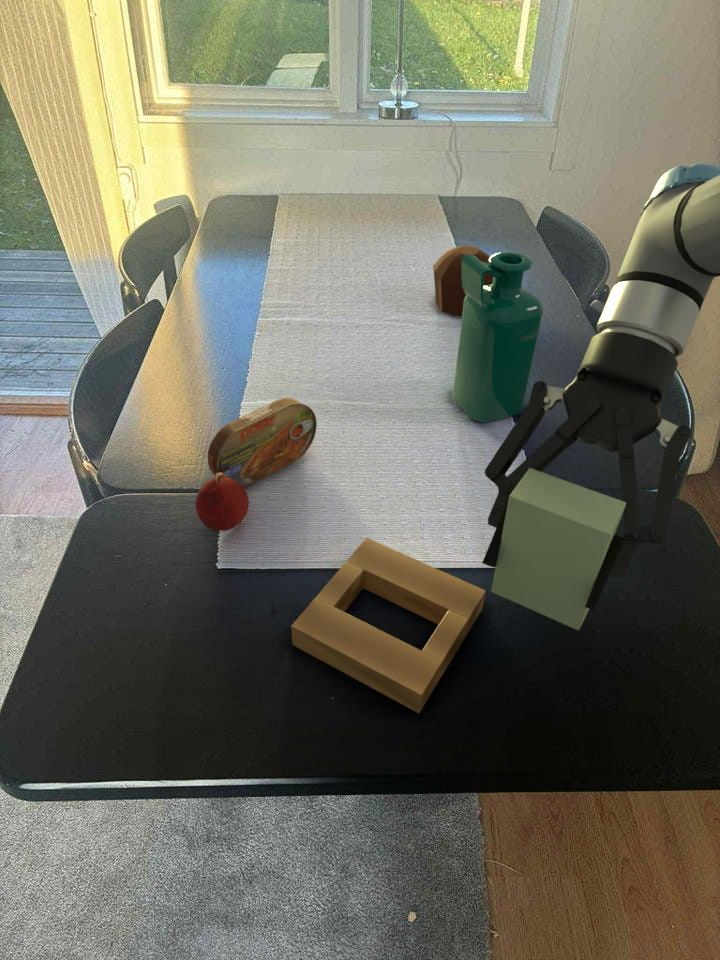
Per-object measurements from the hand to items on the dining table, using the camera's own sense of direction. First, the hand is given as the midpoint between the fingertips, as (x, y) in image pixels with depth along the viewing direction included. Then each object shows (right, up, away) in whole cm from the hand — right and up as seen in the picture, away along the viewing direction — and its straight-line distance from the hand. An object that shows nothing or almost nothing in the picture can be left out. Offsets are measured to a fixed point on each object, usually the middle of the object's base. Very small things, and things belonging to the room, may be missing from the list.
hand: (538, 586), depth 61 cm
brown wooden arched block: (+2, +40, +63) cm, 75 cm away
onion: (-31, +4, +20) cm, 37 cm away
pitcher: (+2, +20, +40) cm, 44 cm away
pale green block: (+2, -2, +5) cm, 5 cm away
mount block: (-13, -6, +9) cm, 17 cm away
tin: (-28, +11, +28) cm, 41 cm away
